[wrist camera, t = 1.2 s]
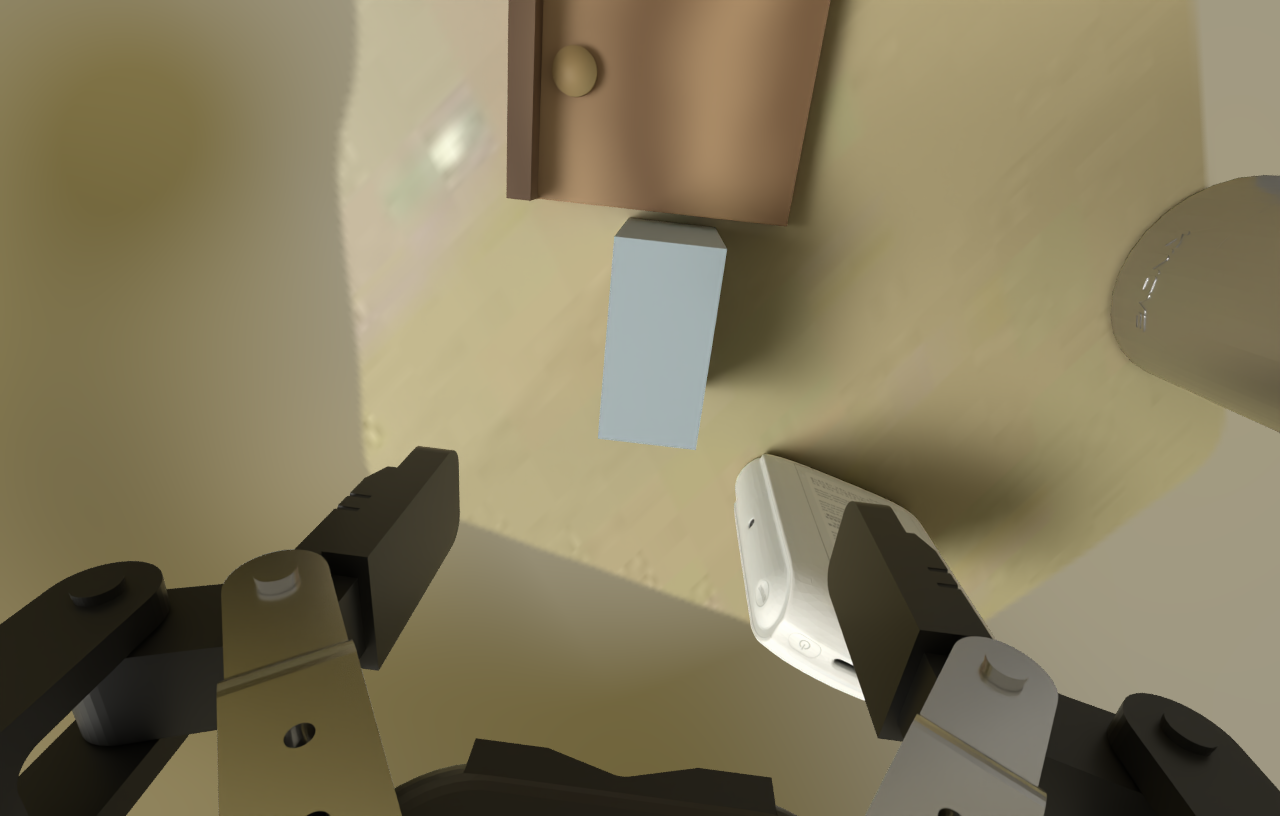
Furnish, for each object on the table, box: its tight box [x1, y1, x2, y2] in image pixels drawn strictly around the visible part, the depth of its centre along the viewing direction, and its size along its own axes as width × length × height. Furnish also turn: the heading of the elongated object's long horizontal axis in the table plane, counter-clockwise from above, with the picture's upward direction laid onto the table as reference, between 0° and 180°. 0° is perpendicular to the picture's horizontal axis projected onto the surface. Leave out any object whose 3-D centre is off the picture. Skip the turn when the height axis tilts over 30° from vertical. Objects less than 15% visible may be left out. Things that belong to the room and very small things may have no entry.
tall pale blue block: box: [598, 218, 727, 450], centre depth 26 cm, size 4×8×7 cm, turn 174°
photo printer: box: [734, 454, 996, 701], centre depth 27 cm, size 10×4×12 cm, turn 68°
